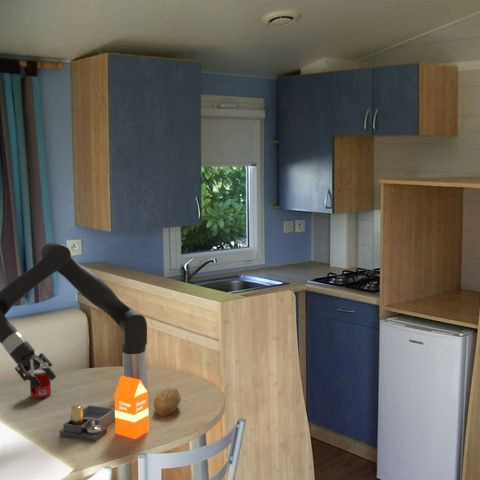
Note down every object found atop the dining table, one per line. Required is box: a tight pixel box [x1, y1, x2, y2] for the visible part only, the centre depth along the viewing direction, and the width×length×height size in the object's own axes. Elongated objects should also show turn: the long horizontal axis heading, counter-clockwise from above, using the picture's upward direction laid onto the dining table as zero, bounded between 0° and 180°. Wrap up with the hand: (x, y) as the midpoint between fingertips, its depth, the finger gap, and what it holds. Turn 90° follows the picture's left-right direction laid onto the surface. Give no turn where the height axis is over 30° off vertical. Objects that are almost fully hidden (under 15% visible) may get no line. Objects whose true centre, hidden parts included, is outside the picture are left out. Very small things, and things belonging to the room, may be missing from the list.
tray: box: [70, 404, 115, 427], centre depth 262 cm, size 12×12×4 cm
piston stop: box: [70, 404, 84, 426], centre depth 252 cm, size 4×4×8 cm
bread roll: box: [153, 388, 182, 417], centre depth 273 cm, size 10×15×8 cm, turn 175°
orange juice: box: [113, 375, 150, 440], centre depth 252 cm, size 8×9×20 cm
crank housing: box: [58, 418, 108, 443], centre depth 251 cm, size 8×14×6 cm, turn 69°
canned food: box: [29, 367, 52, 400], centre depth 289 cm, size 8×8×11 cm
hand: (46, 382), depth 254 cm, fingers open, 8 cm apart
